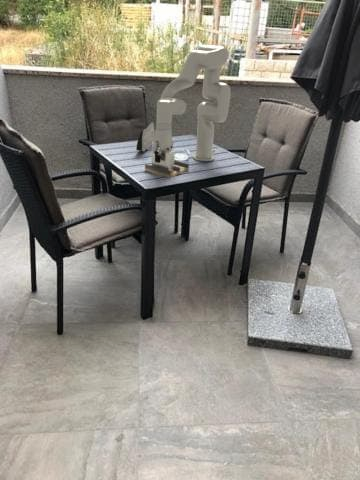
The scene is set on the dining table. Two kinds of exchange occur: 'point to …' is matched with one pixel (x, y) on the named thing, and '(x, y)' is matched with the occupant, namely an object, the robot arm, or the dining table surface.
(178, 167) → the rack stand
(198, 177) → the dining table surface
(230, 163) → the dining table surface
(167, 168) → the blanking panel
